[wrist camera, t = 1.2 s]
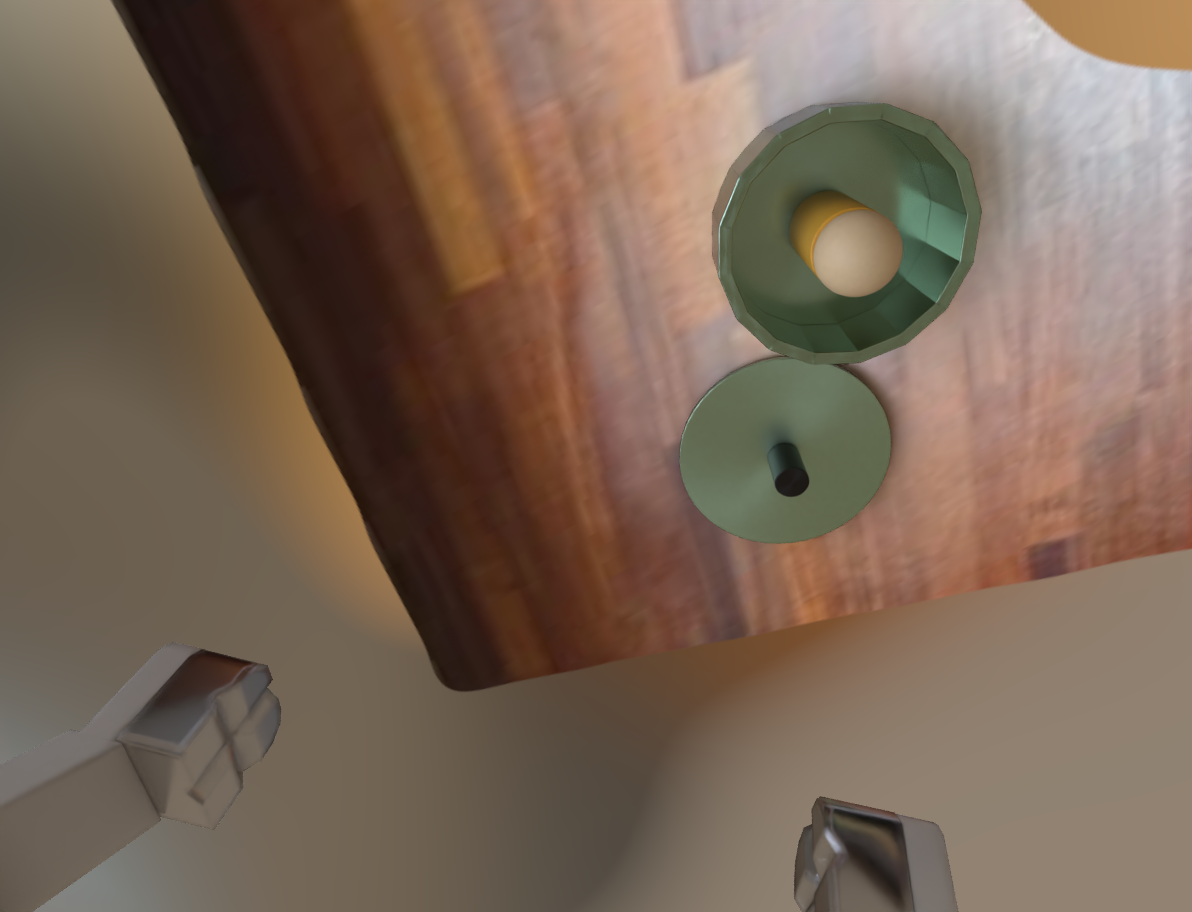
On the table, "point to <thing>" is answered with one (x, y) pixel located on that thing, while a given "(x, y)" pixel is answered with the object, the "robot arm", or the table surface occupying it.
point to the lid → (784, 450)
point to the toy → (846, 243)
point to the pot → (870, 176)
